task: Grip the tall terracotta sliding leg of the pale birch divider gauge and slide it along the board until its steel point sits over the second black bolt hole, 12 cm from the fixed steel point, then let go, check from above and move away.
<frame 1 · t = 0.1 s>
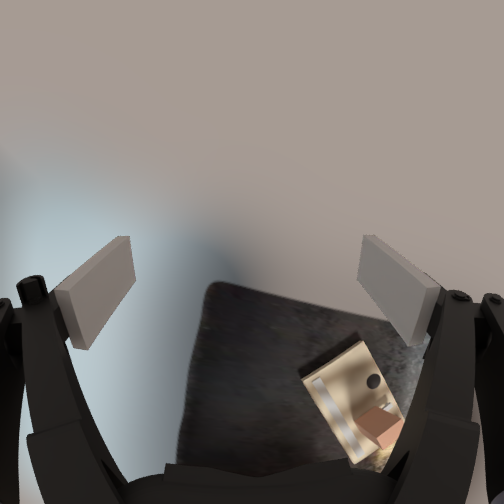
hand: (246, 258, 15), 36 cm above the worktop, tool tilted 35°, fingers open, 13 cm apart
sliding leg: (385, 421, 37), point 7 cm above the worktop, slide at 0.0 cm
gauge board: (356, 405, 45), on the worktop
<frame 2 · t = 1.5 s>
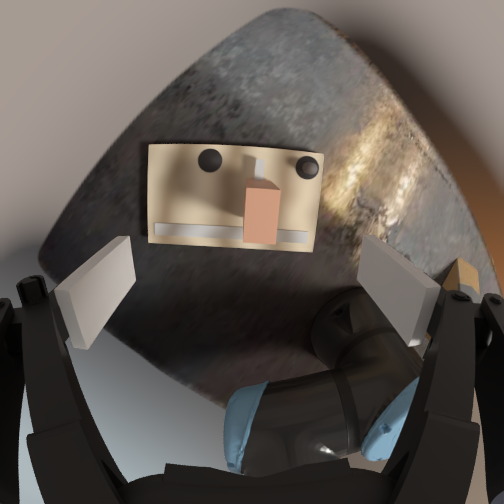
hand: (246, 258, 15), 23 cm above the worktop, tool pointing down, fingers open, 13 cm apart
sliding leg: (259, 195, 29), point 7 cm above the worktop, slide at 0.0 cm
sandwich container: (449, 297, 44), on the worktop
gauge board: (232, 195, 37), on the worktop
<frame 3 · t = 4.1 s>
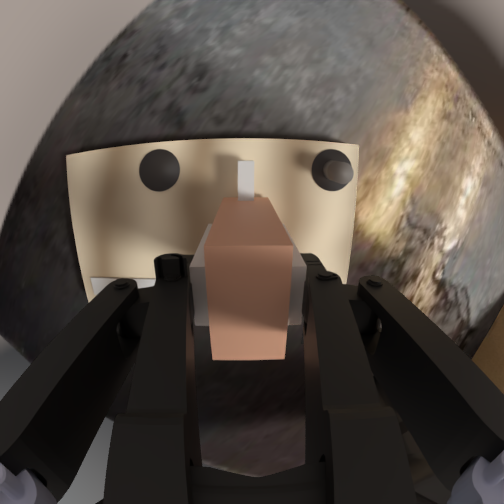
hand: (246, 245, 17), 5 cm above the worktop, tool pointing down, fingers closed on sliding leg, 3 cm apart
sliding leg: (246, 237, 15), point 7 cm above the worktop, slide at 0.0 cm, touching gripper
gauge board: (206, 224, 22), on the worktop
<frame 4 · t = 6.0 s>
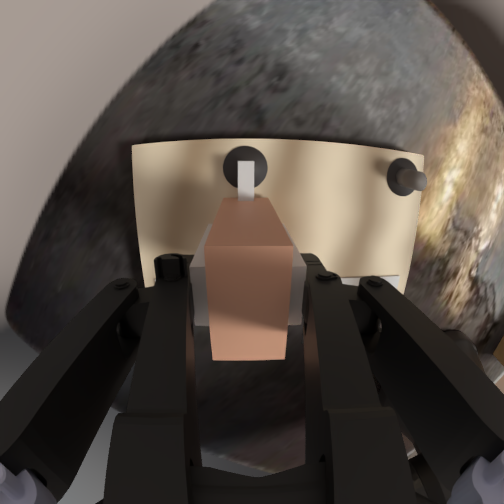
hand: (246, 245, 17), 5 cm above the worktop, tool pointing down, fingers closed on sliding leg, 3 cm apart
sliding leg: (246, 237, 15), point 7 cm above the worktop, slide at 6.0 cm, touching gripper
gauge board: (283, 224, 22), on the worktop
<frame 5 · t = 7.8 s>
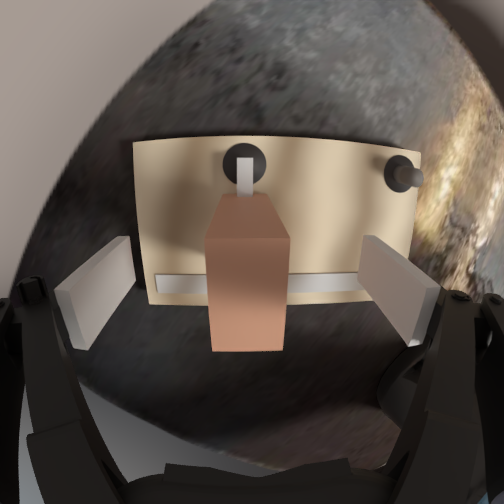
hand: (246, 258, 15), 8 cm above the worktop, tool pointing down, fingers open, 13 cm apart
sliding leg: (245, 231, 15), point 7 cm above the worktop, slide at 6.0 cm
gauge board: (282, 220, 22), on the worktop
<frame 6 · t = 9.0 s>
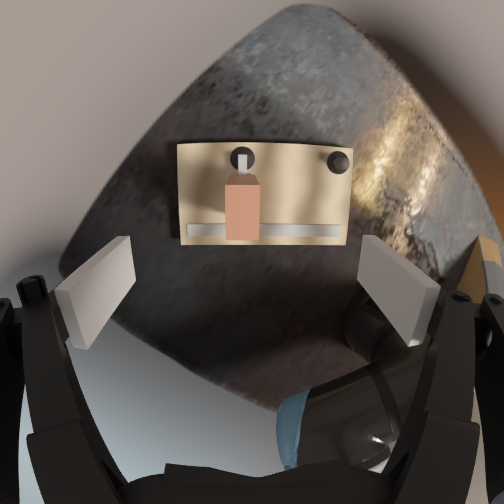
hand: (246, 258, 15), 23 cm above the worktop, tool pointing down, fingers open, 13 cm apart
sliding leg: (242, 191, 29), point 7 cm above the worktop, slide at 6.0 cm
sandwich container: (474, 273, 43), on the worktop
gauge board: (265, 192, 37), on the worktop
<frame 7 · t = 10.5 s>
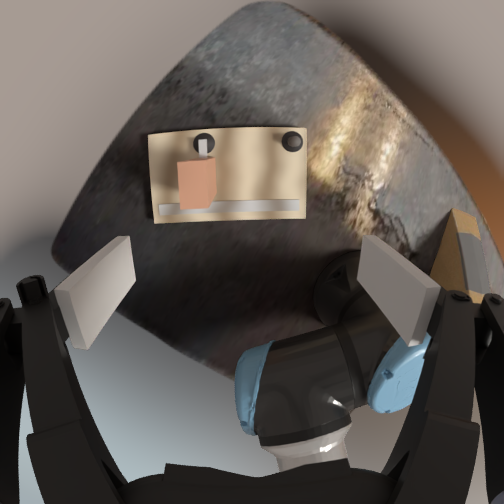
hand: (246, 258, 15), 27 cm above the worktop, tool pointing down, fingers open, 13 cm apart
sliding leg: (199, 169, 32), point 7 cm above the worktop, slide at 6.0 cm
sandwich container: (452, 247, 46), on the worktop
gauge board: (227, 173, 40), on the worktop
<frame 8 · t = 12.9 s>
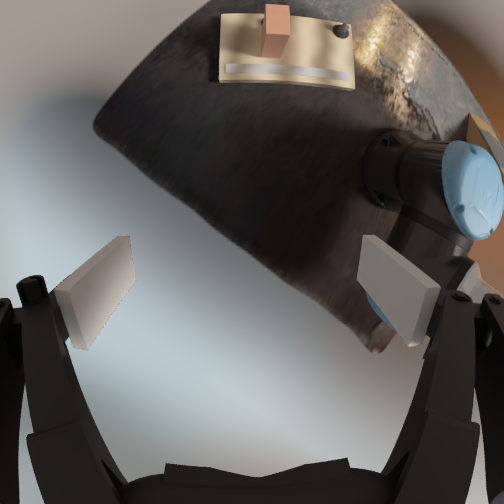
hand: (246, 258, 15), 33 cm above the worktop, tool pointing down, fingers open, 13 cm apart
sliding leg: (273, 26, 30), point 7 cm above the worktop, slide at 6.0 cm
sandwich container: (476, 149, 44), on the worktop
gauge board: (287, 50, 38), on the worktop
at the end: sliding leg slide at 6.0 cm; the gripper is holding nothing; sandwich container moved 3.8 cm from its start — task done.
